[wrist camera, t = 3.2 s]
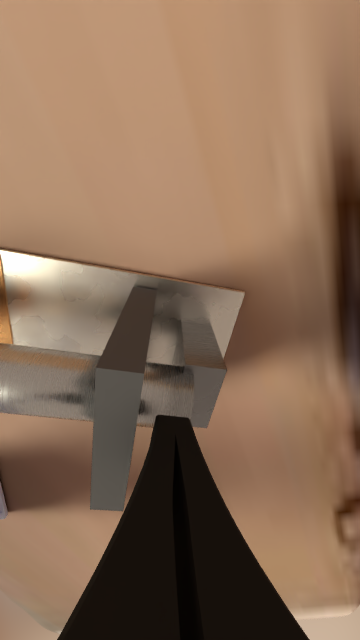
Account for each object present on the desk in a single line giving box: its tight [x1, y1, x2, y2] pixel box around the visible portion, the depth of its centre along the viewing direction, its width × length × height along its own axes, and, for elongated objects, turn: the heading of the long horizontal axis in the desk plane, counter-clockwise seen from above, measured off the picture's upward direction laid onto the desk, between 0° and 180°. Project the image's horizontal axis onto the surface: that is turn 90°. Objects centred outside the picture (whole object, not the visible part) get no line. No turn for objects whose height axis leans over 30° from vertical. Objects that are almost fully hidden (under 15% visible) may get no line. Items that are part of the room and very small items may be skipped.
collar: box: [90, 286, 157, 511], centre depth 12 cm, size 1×8×8 cm, turn 169°
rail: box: [0, 248, 245, 428], centre depth 12 cm, size 22×9×8 cm, turn 79°
